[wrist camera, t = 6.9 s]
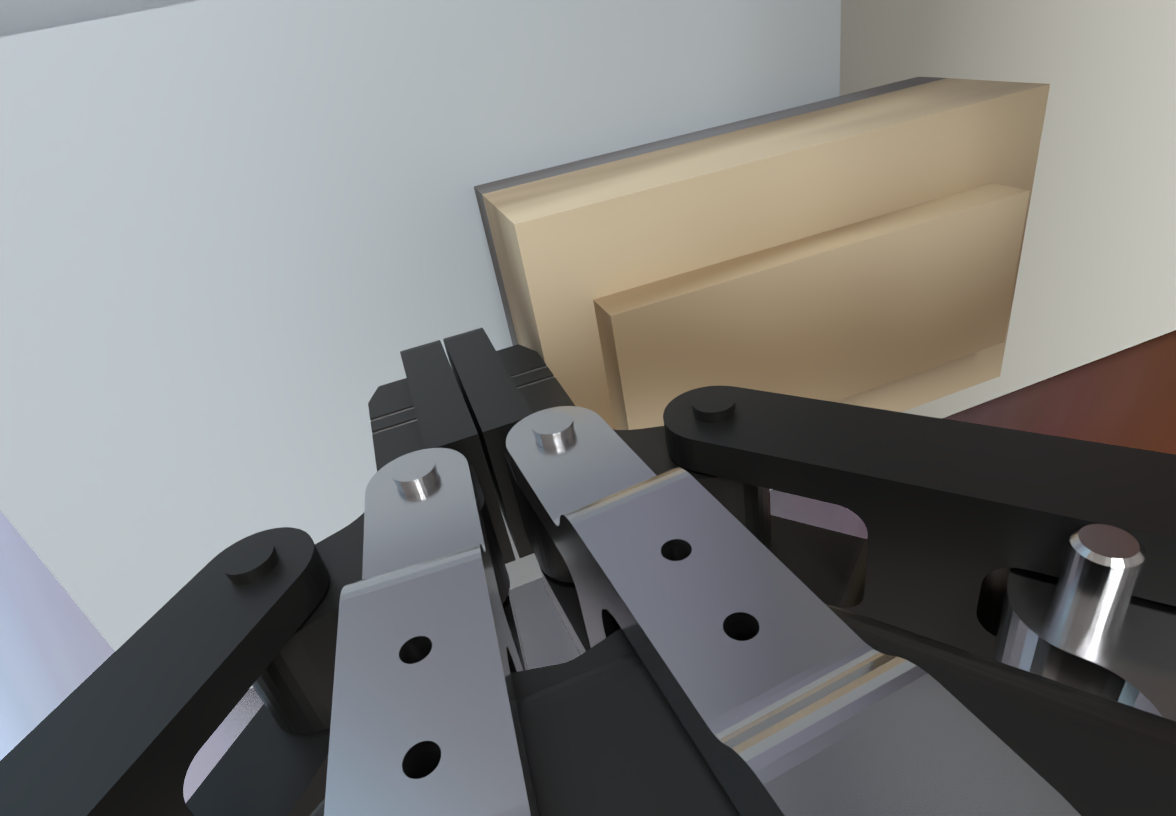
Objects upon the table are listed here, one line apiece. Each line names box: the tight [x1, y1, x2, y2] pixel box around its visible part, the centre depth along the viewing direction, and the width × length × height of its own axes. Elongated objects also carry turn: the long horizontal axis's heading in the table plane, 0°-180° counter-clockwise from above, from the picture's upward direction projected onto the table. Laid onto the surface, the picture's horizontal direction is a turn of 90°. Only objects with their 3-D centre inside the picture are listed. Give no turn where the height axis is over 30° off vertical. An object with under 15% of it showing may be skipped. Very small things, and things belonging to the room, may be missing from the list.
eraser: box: [474, 77, 1050, 430], centre depth 14 cm, size 6×10×4 cm, turn 100°
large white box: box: [0, 0, 841, 689], centre depth 15 cm, size 14×18×3 cm
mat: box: [839, 0, 1176, 419], centre depth 20 cm, size 18×18×1 cm
